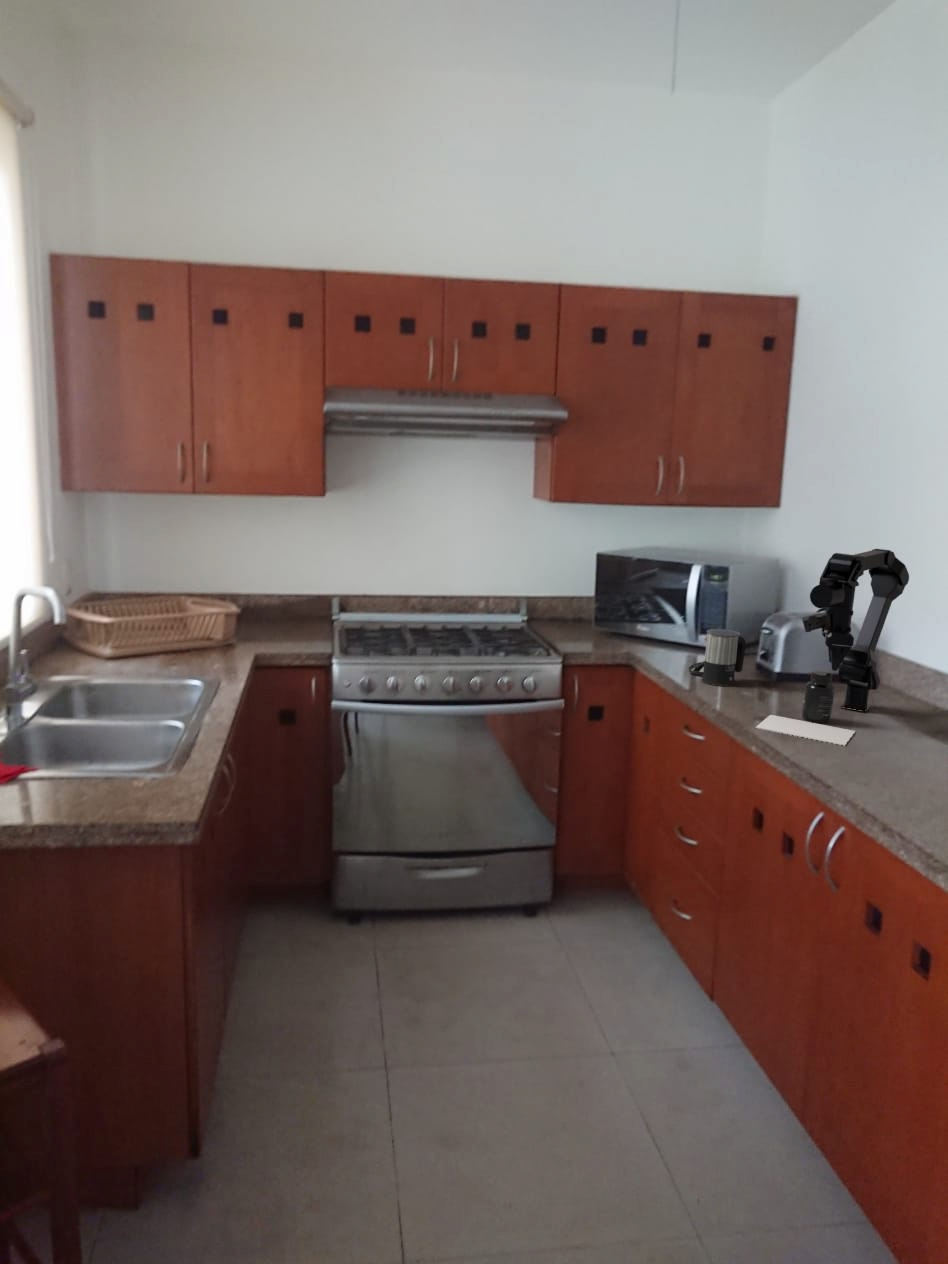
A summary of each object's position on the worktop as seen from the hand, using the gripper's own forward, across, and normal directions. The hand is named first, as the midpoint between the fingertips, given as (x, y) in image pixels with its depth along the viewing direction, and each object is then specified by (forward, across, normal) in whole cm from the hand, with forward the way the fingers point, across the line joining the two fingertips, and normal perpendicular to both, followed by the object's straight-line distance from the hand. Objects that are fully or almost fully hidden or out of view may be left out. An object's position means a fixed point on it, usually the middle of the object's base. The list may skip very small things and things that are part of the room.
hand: (832, 666), depth 229 cm
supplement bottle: (+13, +5, -3) cm, 14 cm away
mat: (+13, +16, -6) cm, 21 cm away
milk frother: (+13, -26, -30) cm, 42 cm away
